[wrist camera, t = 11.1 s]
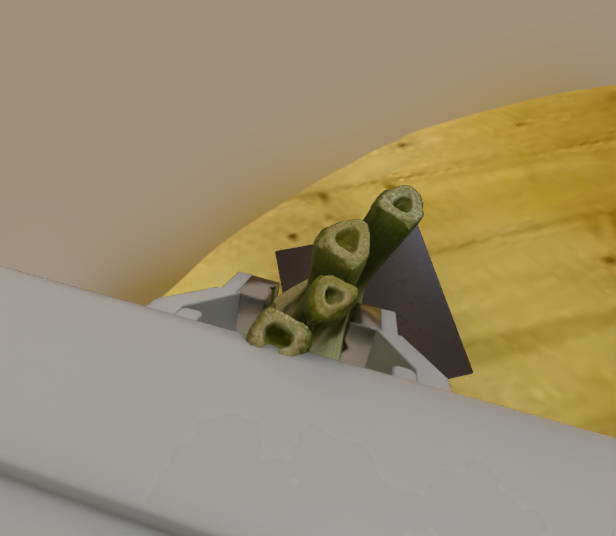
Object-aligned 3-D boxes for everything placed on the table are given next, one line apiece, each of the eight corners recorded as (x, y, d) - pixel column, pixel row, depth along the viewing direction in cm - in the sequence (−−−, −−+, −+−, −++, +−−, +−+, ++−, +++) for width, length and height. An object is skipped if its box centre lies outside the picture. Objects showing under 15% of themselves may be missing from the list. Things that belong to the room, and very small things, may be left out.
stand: (392, 269, 36) (418, 225, 28) (429, 384, 31) (474, 373, 23) (282, 289, 35) (275, 250, 27) (304, 411, 30) (304, 410, 22)
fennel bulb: (329, 293, 20) (412, 149, 9) (365, 376, 18) (521, 331, 7) (230, 328, 18) (179, 210, 7) (260, 421, 17) (255, 452, 6)
